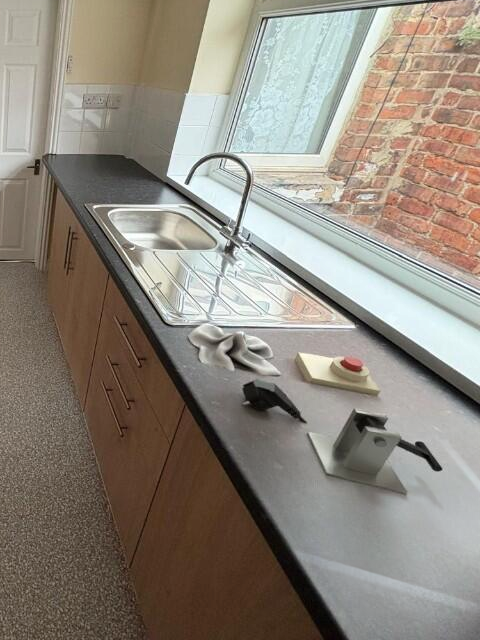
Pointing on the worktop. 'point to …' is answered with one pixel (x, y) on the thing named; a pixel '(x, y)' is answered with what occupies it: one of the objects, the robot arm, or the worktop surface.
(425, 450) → the switch lever
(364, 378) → the control block
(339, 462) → the lever mounting bracket
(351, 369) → the button
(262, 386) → the power plug
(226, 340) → the cloth
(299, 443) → the worktop surface
